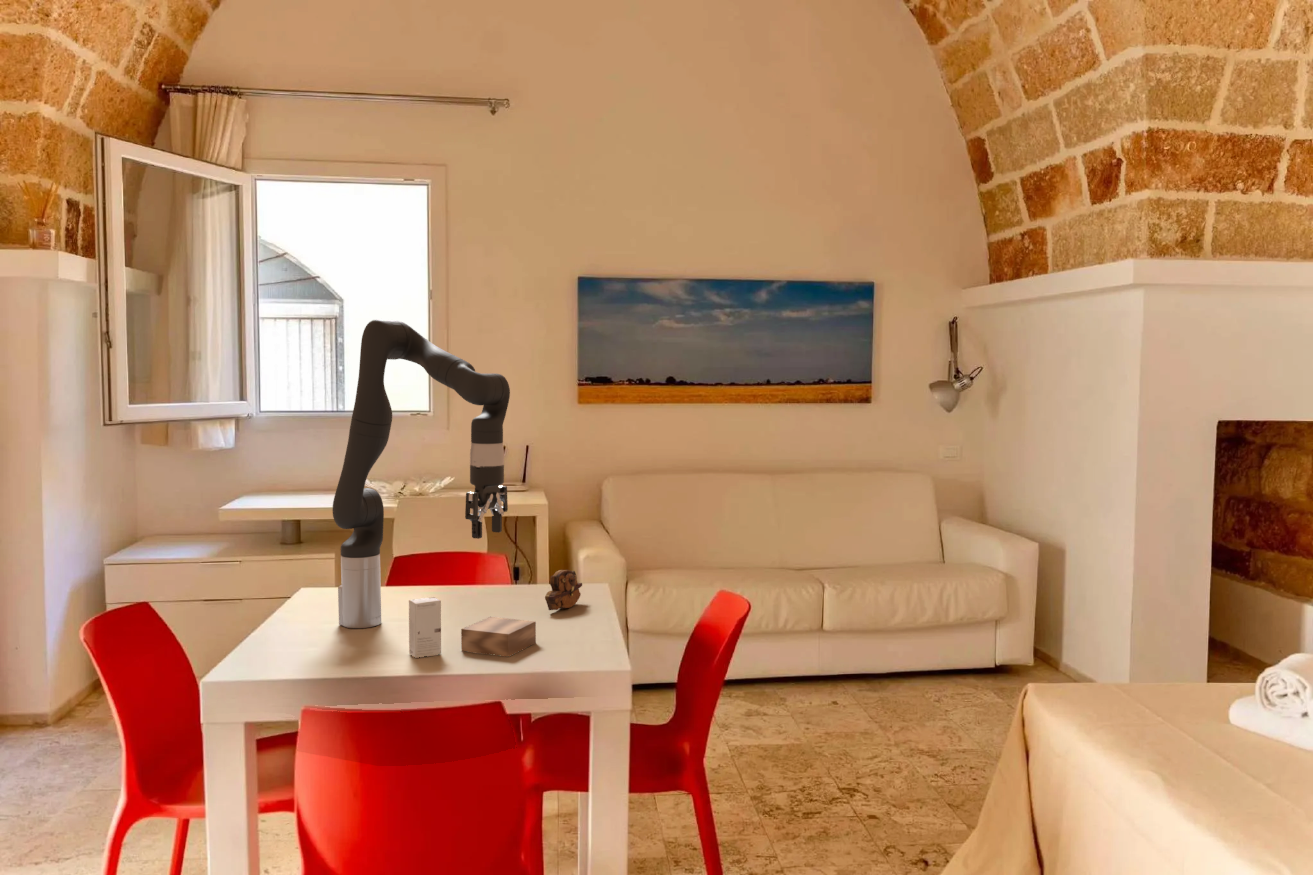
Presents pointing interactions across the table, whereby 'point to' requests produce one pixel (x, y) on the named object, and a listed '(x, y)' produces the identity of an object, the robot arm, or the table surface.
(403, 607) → the table surface
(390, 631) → the table surface
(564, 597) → the wooden carving
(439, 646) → the skincare box
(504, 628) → the walnut block
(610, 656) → the table surface
